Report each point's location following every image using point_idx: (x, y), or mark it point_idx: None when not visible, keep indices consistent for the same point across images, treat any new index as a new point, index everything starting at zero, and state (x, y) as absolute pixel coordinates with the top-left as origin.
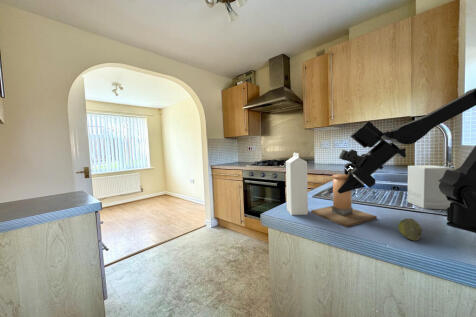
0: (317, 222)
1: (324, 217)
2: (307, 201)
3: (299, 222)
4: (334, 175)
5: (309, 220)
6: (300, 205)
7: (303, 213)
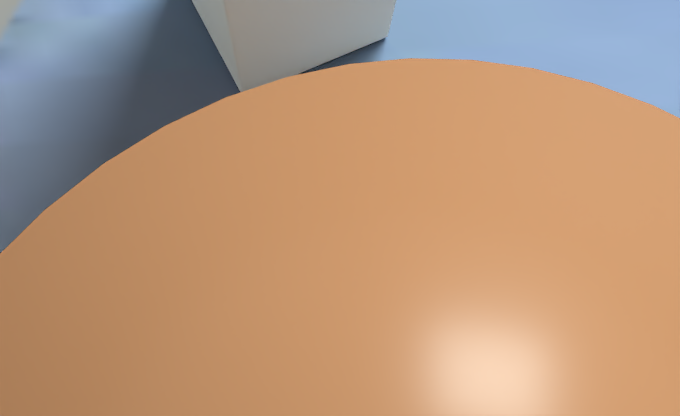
0: (50, 188)
1: None
2: (220, 3)
3: (15, 49)
4: (375, 151)
5: (85, 121)
6: None
7: (222, 55)
